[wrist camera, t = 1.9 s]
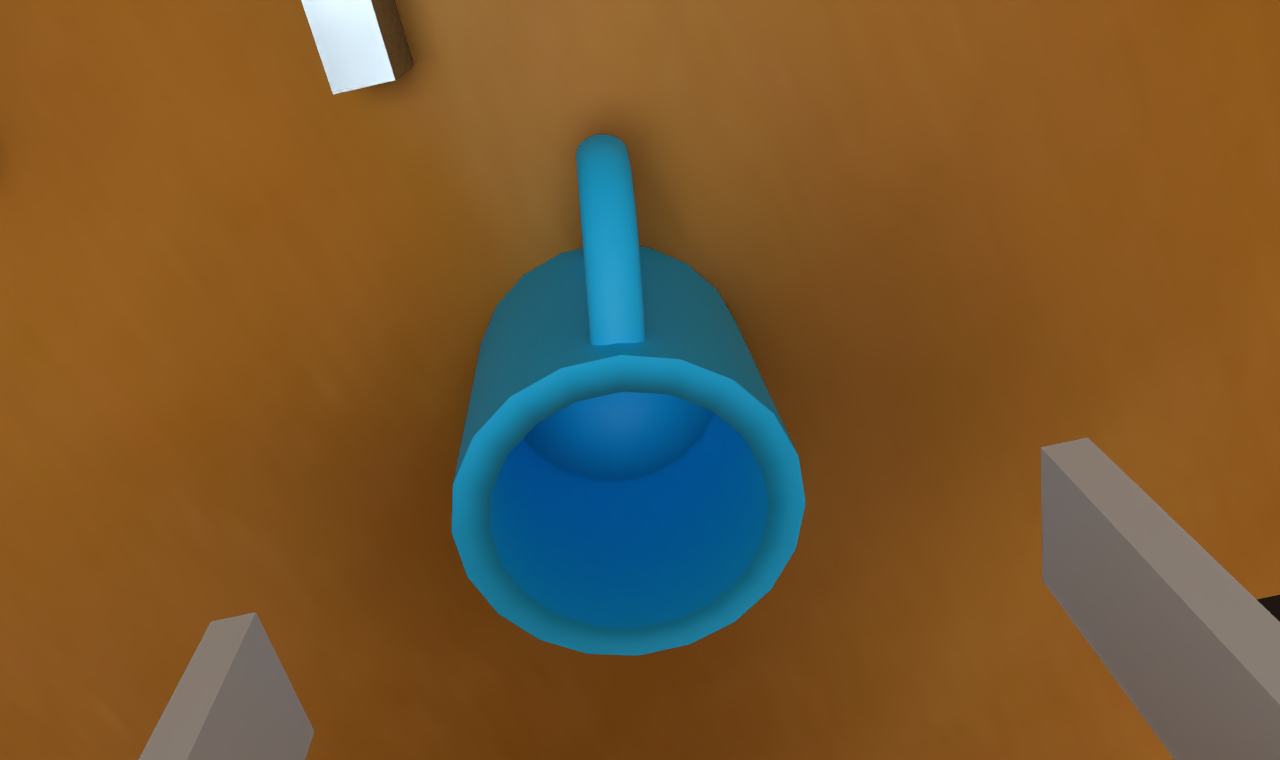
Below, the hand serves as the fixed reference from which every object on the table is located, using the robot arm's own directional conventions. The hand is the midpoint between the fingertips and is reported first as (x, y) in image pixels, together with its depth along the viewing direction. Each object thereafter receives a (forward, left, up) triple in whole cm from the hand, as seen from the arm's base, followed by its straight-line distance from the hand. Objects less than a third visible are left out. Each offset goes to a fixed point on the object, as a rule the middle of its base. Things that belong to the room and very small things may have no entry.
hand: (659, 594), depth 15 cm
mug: (0, 0, -14) cm, 14 cm away
